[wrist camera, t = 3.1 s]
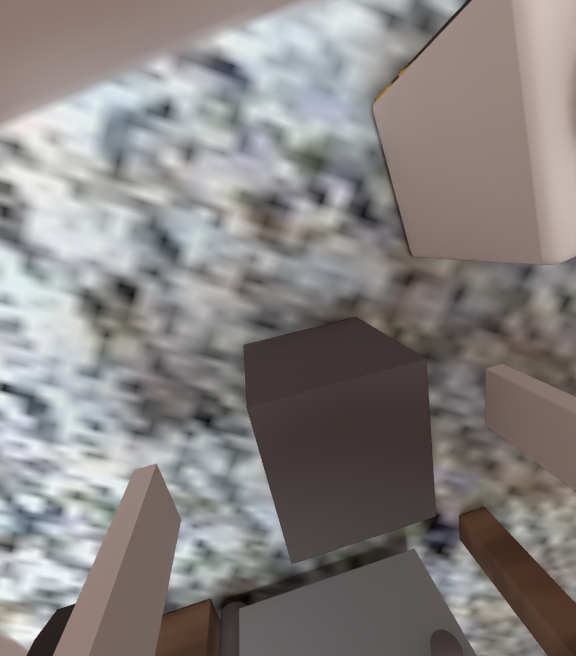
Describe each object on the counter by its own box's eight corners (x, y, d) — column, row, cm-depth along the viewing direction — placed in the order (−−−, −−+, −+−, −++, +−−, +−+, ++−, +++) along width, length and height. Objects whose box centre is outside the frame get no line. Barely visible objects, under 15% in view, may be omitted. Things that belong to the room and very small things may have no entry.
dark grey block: (370, 427, 17) (436, 516, 12) (273, 455, 17) (291, 564, 11) (355, 316, 15) (426, 358, 9) (243, 344, 15) (247, 407, 9)
